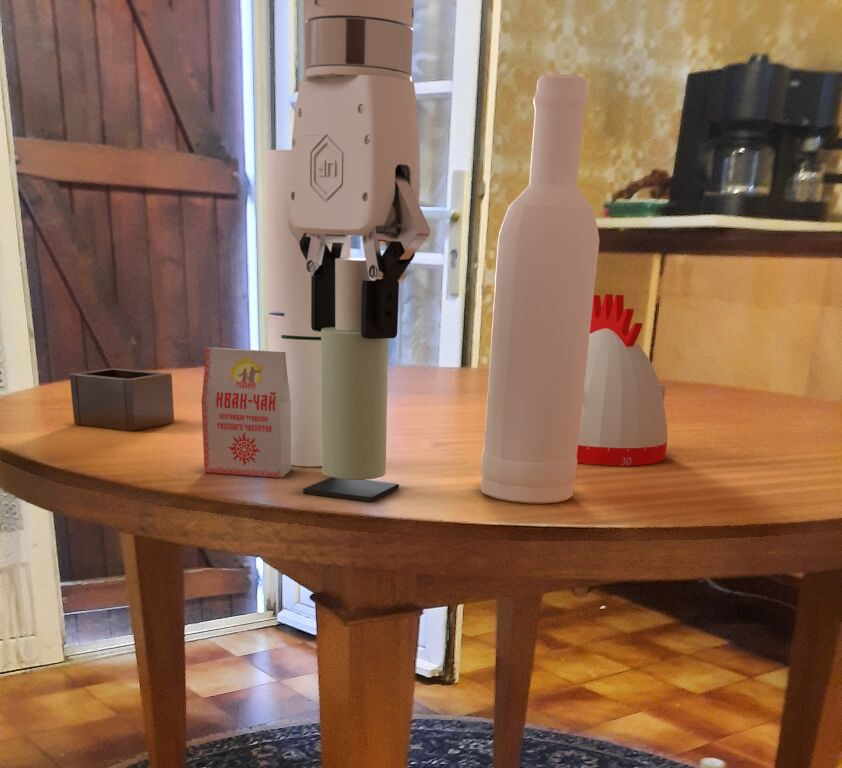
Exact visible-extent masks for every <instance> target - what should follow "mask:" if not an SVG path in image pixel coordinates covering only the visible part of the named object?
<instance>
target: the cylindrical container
mask: <svg viewBox="0 0 842 768" xmlns="http://www.w3.org/2000/svg"><path fill="white" fill-rule="evenodd" d="M290 166H291V149H268V150H265V192H266V193H265V194H266V197H265V199H266V202H265V203H266V249H267V250H266V253H267V254H266V255H267V256H266V257H267V258H266V259H267V260H266V262H267V263H266V264H267V311H269V312H268V351H276V352H285V353H286V366H287V375H288V383H289V391H290V399H291V466H296V467H312V468H313V467H322V366H321V332H318V331H313V330H312V328H311V276H314V275H309V274H308V273H307V270H306V262H307V261H306V259H305V257H304V255H303V253H302V252H301V249H300V244H299V243H298V242H297V240H296V239H295V237H294V236H293V234H292V232H291V231H290V229H289V221H290ZM351 236H352V235H350V236H349V240H348V245H347V250H346V255H345V258H351V240H352V239H351ZM326 245H327V246H328V248H329V250H330V252H331V248H332V243H326Z"/></svg>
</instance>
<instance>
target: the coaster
mask: <svg viewBox="0 0 842 768" xmlns="http://www.w3.org/2000/svg"><path fill="white" fill-rule="evenodd" d="M399 489H400V484H399V483H396V482H386V481H379V480H372V479H366V480H347V479H338V478H333V477H328V478H326V479H324V480H321V481H318V482H315V483H314V484H311V485H308V486H306V487H304V488H302V493H303V494H304V495H313V496H320V497H328V498H329V497H330V498H334V499H335V498H336V499H343V500H352V501H359V502H366V503H373V502H374V501H376V500H379V499H380V498H383V497H384V496H386V495H389V494H391V493H393V492H394V491H397V490H399Z"/></svg>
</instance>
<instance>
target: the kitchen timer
mask: <svg viewBox="0 0 842 768" xmlns="http://www.w3.org/2000/svg"><path fill="white" fill-rule="evenodd" d="M624 305H625V296H624V295H623V294H615V296H614V294H612V293H606V294H604V297H603V300H602V299H601V295H600V294H594V297H593V307H592V316H591V326H590V335H589V345H588V354H587V364H586V373H585V383H584V392H583V402H582V411H581V420H580V430H579V439H578V449H577V464H585V465H596V466H615V467H617V466H618V467H619V466H620V467H621V466H624V467H629V466H630V467H631V466H644V465H654V464H658V463H661V462H663V461H664V460H665V459H666V453H667V445H668V423H667V415H666V407H665V402H664V401H665V397H666V387H665V385H664V384H661V383H660V381H659V378H658V375H657V373H656V370H655V369H654V368H655V367H654V366H653V364H652V362H651V360H650V358H649V357H648V356H647V353H646V352H645V351H644V349H643V348H642V347H641V346H640V345H639V344H638V343H637V340H638V338H639V335H640V333H641V330H642V327H643V322H634V323H633V325H632V326H631V322H632V320H633V315H634V313H635V312H634V311H635V310H634V308H625V309H624ZM630 327H631V328H630Z"/></svg>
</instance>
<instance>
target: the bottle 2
mask: <svg viewBox="0 0 842 768" xmlns="http://www.w3.org/2000/svg"><path fill="white" fill-rule="evenodd" d="M587 87H588V81H587V80H586V78H585V77H583V76H580V75H574V74H566V73H565V74H561V73H559V74H558V73H554V74H553V73H552V74H550V73H549V74H544V75H541V76H540V77H539V78H538V79H537V81H536V92H535V94H534V95H533V96H534V97H533V103H532V104H533V107H534V108H533V109H534V116H533V117H534V118H533V130H532V141H531V142H532V145H531V155H530V156H531V157H530V169H529V170H530V171H529V182H528V186H527V187H526V188H524V189H523V191H522V192H521V193H520V194H519V195H518V196H517V197H516V198H515V199H514V200H513V201H512V202H511V203H510V204H509V205H508V208H507V210H506V212H505V216H504V218H503V221H502V224H501V226H500V230H499V232H498V235H497V248H496V249H497V250H496V264H495V276H494V278H495V279H494V293H493V306H492V307H493V308H492V309H493V310H492V323H491V336H490V338H491V339H490V351H489V352H490V353H489V367H488V380H487V381H488V382H487V393H486V395H487V396H486V409H485V410H486V411H485V424H484V426H485V427H484V440H483V450H482V453H481V464H480V466H481V467H480V473H481V482H480V483H481V484H480V491H481V492H482V493H483V494H484V495H485V496H487V497H489V498H492V499H496V500H500V501H505V502H512V503H521V504H555V503H561V502H565V501H567V500H569V499H570V498H571V497H573V496H574V485H575V481H576V477H577V471H578V469H577V468H578V463H577V449H578V439H579V430H580V420H581V411H582V402H583V392H584V383H585V373H586V364H587V354H588V345H589V335H590V326H591V316H592V307H593V297H594V295H595V289H596V288H595V287H596V278H597V269H598V259H599V250H600V235H599V229H598V223H597V218H596V214H595V210H594V208H593V206H591V205H592V204H590V203H589V201H588V199H586V196H584V195H583V193H582V191H581V190H580V189H579V188H578V180H579V170H580V161H581V148H582V141H583V140H582V139H583V130H584V129H583V128H584V117H585V110H586V108H587V106H588V96H587Z"/></svg>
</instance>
